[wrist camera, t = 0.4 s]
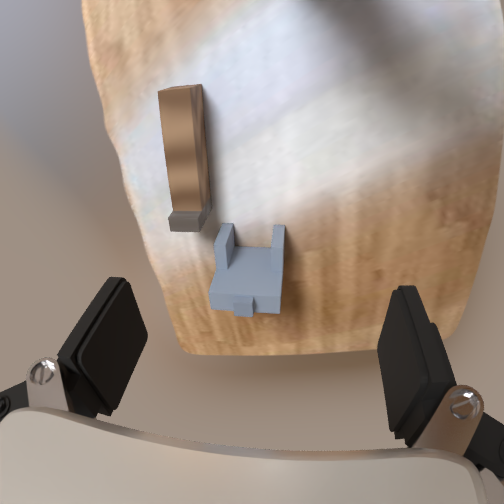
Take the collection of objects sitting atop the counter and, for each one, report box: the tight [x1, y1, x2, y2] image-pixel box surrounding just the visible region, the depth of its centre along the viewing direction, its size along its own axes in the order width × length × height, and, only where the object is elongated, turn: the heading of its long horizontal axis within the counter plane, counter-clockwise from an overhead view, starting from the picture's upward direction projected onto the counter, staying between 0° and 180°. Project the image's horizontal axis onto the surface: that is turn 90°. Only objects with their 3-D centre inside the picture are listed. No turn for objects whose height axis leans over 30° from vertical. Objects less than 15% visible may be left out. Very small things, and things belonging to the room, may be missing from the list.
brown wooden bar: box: [158, 84, 212, 232], centre depth 39 cm, size 18×4×7 cm, turn 2°
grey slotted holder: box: [208, 223, 285, 317], centre depth 45 cm, size 7×9×12 cm
